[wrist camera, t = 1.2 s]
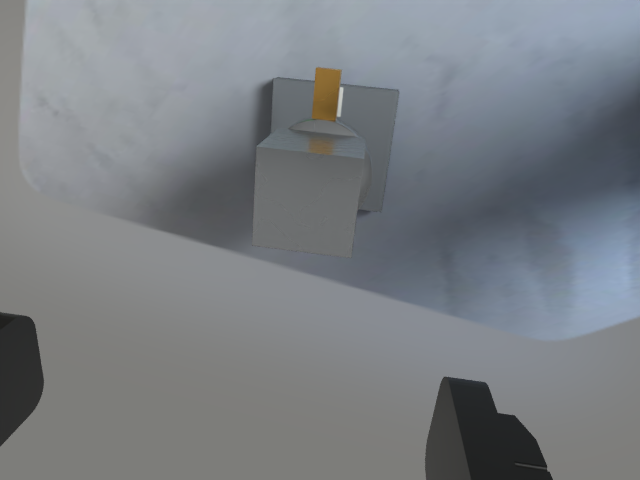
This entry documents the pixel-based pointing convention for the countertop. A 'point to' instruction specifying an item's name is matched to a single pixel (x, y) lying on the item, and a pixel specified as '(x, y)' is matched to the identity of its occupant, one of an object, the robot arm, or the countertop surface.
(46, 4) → the countertop surface
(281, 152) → the collar
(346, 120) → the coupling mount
